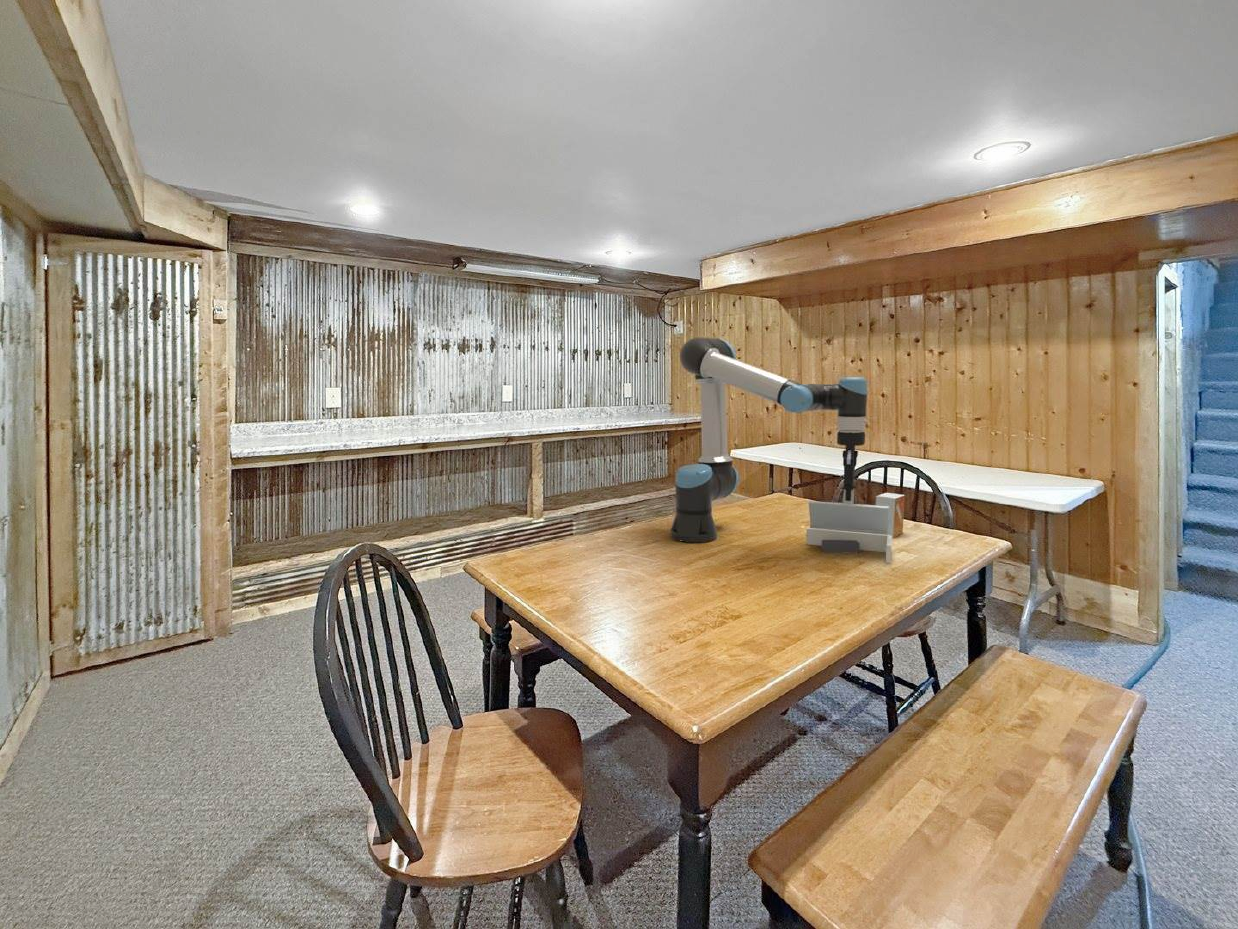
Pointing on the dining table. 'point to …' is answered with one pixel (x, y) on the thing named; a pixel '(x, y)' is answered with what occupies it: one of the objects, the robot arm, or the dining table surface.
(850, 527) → the cover
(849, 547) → the dark blue-grey block
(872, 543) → the grey bench block
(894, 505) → the small box
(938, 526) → the dining table surface
